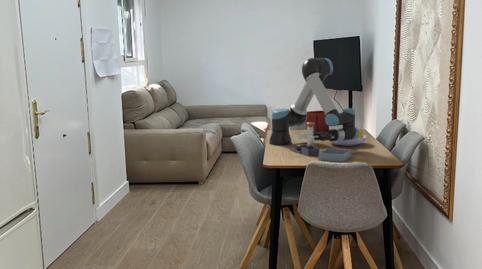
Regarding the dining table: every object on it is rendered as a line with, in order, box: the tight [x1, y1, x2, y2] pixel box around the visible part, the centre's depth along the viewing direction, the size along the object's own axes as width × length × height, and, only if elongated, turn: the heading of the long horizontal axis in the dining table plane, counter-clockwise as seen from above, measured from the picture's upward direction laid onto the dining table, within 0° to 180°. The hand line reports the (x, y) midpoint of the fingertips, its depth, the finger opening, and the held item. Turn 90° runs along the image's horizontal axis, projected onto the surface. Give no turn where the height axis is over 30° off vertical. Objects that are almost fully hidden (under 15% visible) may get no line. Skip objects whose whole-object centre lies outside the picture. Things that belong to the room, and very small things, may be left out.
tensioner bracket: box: [290, 143, 321, 157], centre depth 293 cm, size 20×9×4 cm, turn 23°
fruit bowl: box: [329, 128, 368, 147], centre depth 318 cm, size 28×27×11 cm
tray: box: [318, 148, 352, 163], centre depth 275 cm, size 15×15×4 cm
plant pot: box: [304, 110, 329, 133], centre depth 366 cm, size 19×19×17 cm
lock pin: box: [305, 122, 315, 149], centre depth 287 cm, size 5×5×19 cm
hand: (304, 137), depth 285 cm, fingers open, 10 cm apart
